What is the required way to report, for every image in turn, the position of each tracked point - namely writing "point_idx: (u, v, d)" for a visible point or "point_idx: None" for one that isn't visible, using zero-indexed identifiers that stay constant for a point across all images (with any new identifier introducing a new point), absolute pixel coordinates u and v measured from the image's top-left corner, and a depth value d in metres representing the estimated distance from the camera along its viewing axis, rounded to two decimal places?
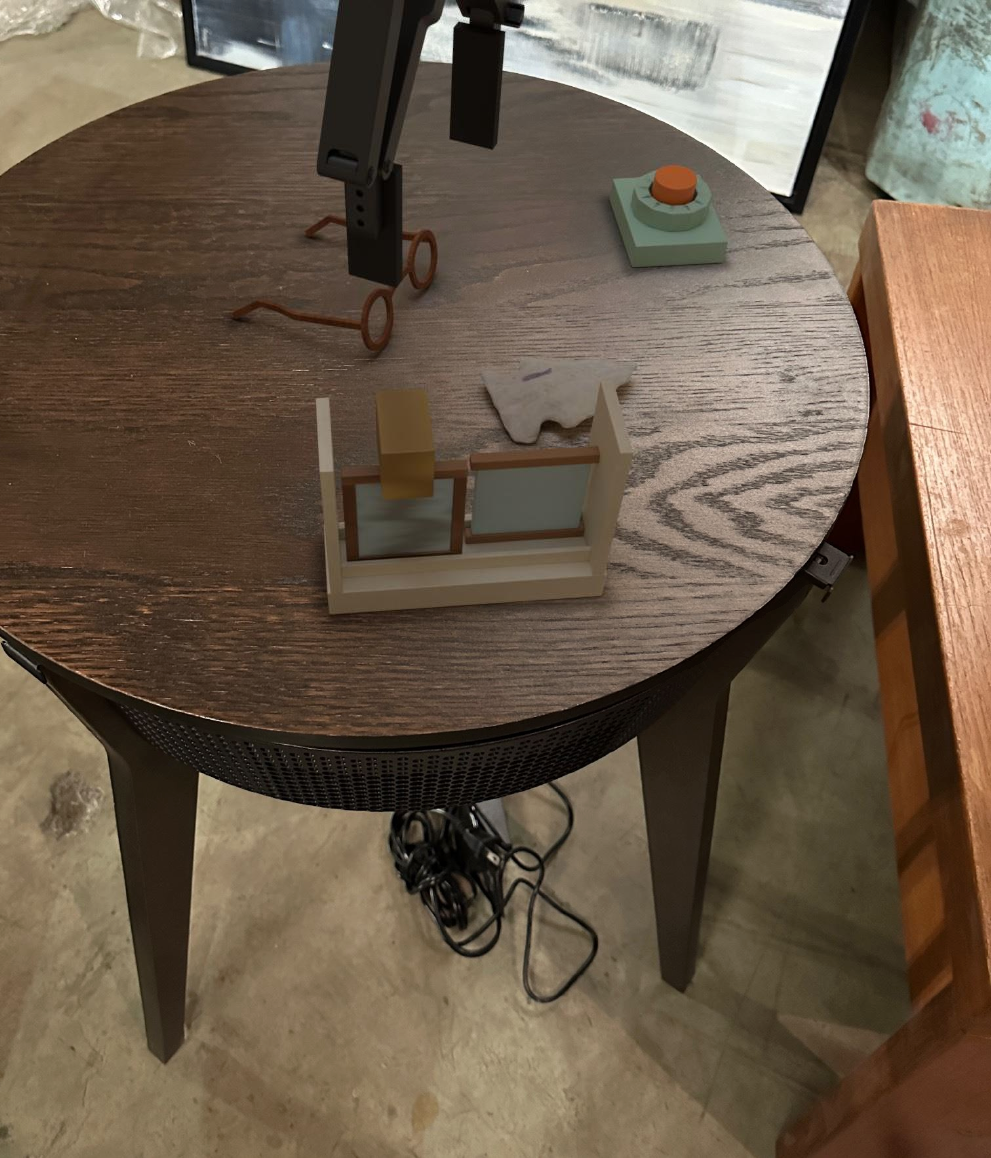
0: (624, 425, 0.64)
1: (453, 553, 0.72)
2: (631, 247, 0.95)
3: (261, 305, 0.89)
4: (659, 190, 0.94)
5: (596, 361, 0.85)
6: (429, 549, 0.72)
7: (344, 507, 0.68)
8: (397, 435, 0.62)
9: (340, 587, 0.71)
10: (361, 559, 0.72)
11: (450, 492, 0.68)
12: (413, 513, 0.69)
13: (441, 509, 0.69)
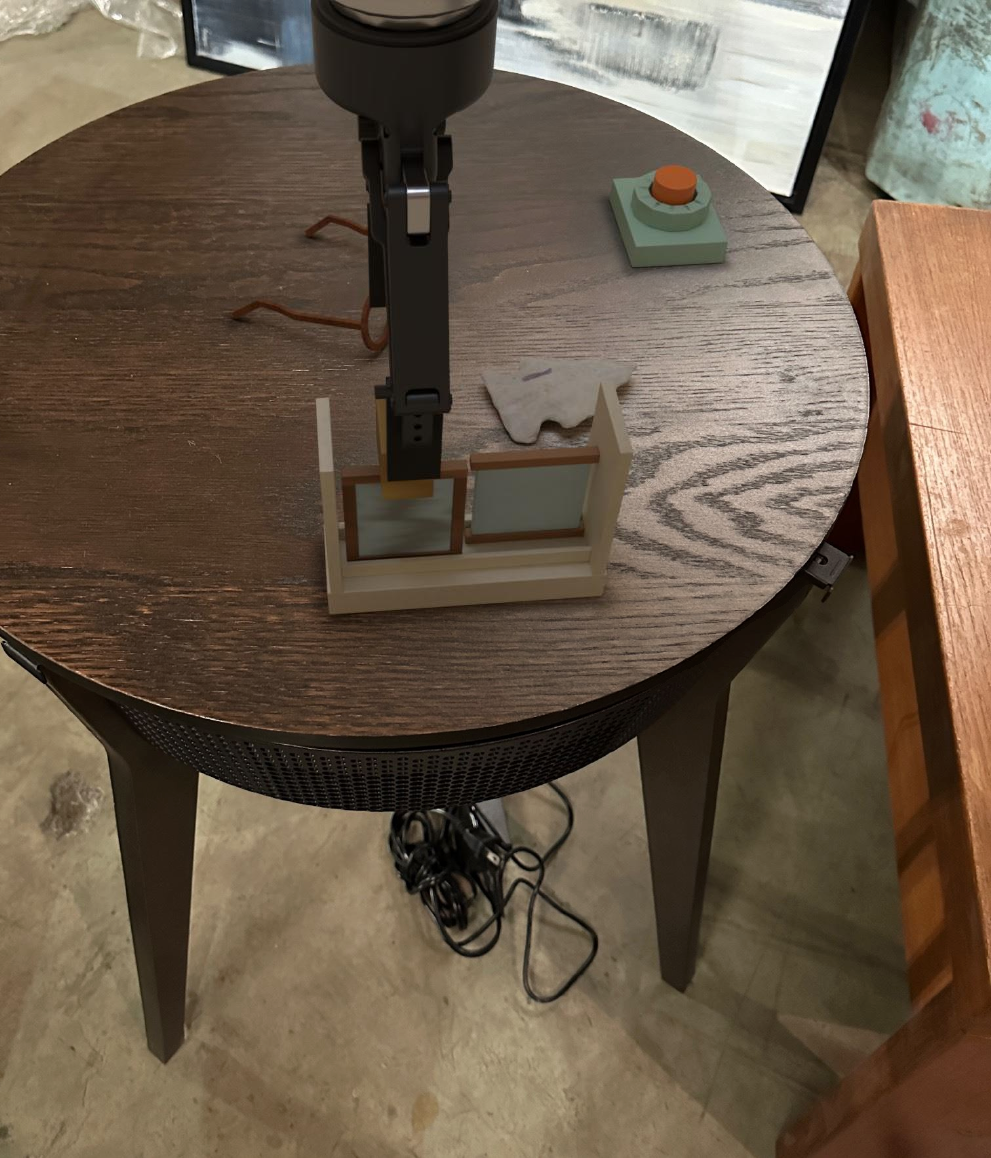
0: (624, 425, 0.64)
1: (453, 553, 0.72)
2: (631, 247, 0.95)
3: (261, 305, 0.89)
4: (659, 190, 0.94)
5: (596, 361, 0.85)
6: (429, 549, 0.72)
7: (344, 507, 0.68)
8: None
9: (340, 587, 0.71)
10: (361, 559, 0.72)
11: (450, 492, 0.68)
12: (413, 513, 0.69)
13: (441, 509, 0.69)
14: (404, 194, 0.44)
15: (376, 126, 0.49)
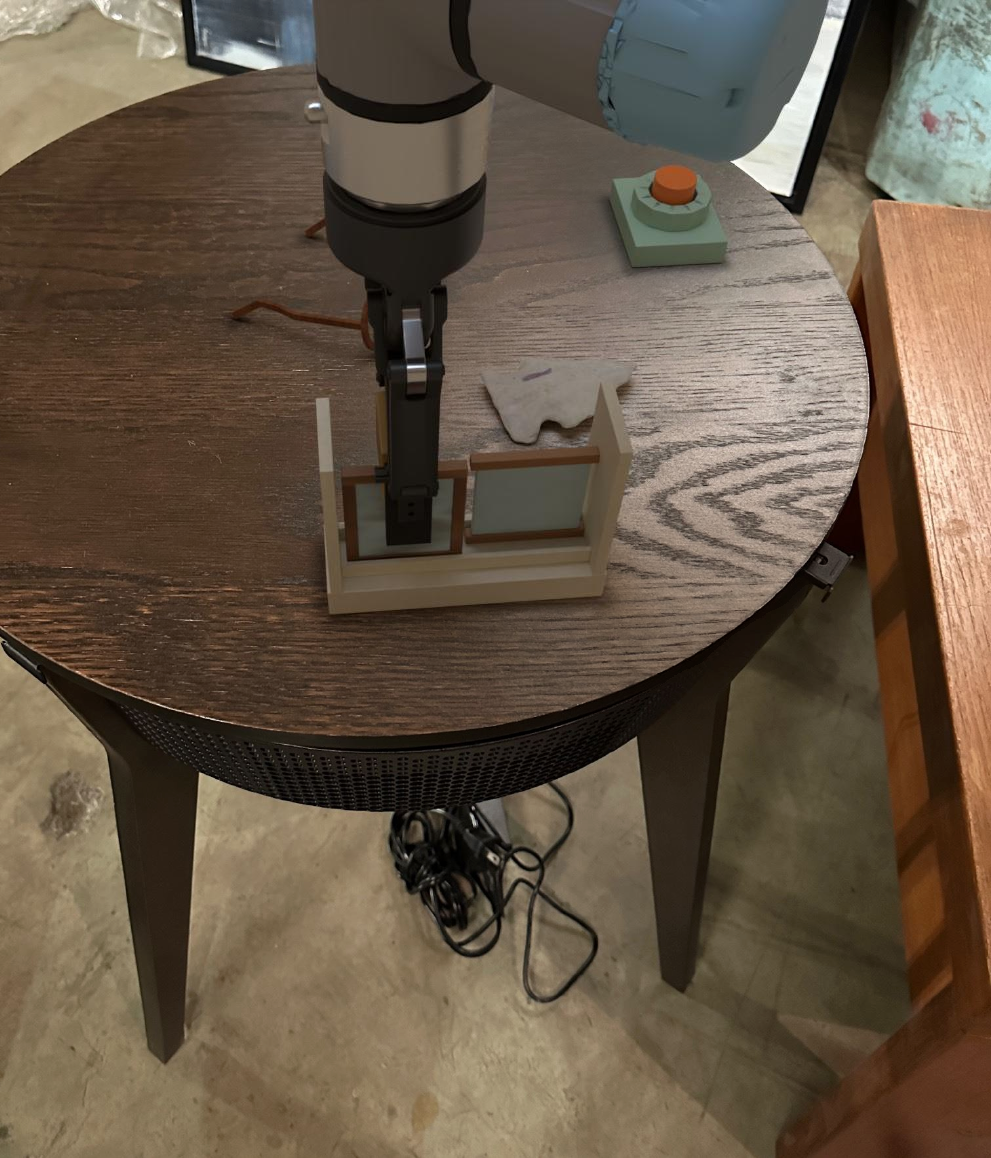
0: (624, 425, 0.64)
1: (453, 553, 0.72)
2: (631, 247, 0.95)
3: (261, 305, 0.89)
4: (659, 190, 0.94)
5: (596, 361, 0.85)
6: (429, 549, 0.72)
7: (344, 507, 0.68)
8: None
9: (340, 587, 0.71)
10: (361, 559, 0.72)
11: (450, 492, 0.68)
12: None
13: (441, 509, 0.69)
14: (405, 375, 0.51)
15: None
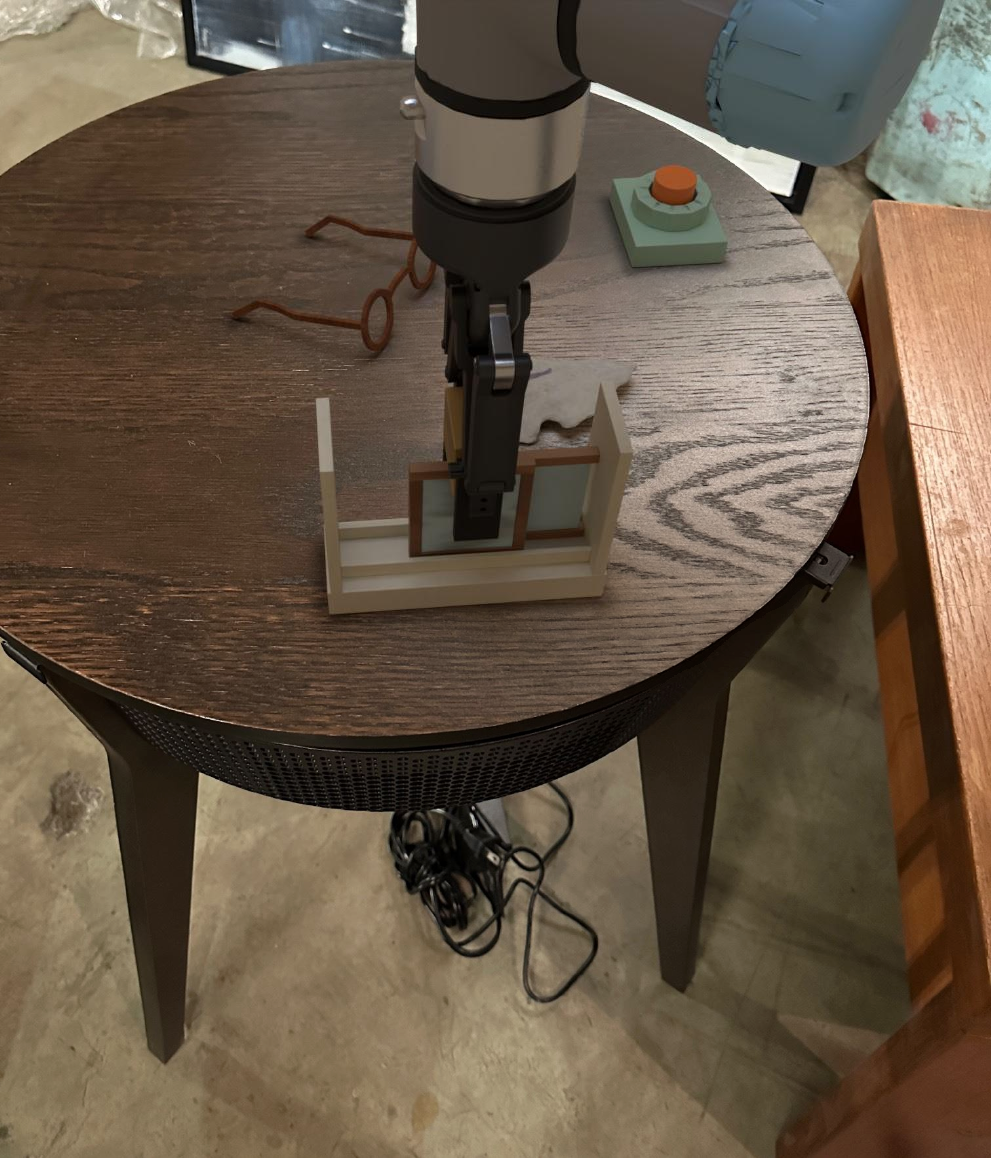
0: (624, 425, 0.64)
1: (515, 549, 0.72)
2: (631, 247, 0.95)
3: (261, 305, 0.89)
4: (659, 190, 0.94)
5: (596, 361, 0.85)
6: (491, 545, 0.72)
7: (410, 503, 0.68)
8: None
9: (340, 587, 0.71)
10: (423, 555, 0.72)
11: (516, 488, 0.68)
12: None
13: (506, 505, 0.69)
14: (493, 371, 0.51)
15: None
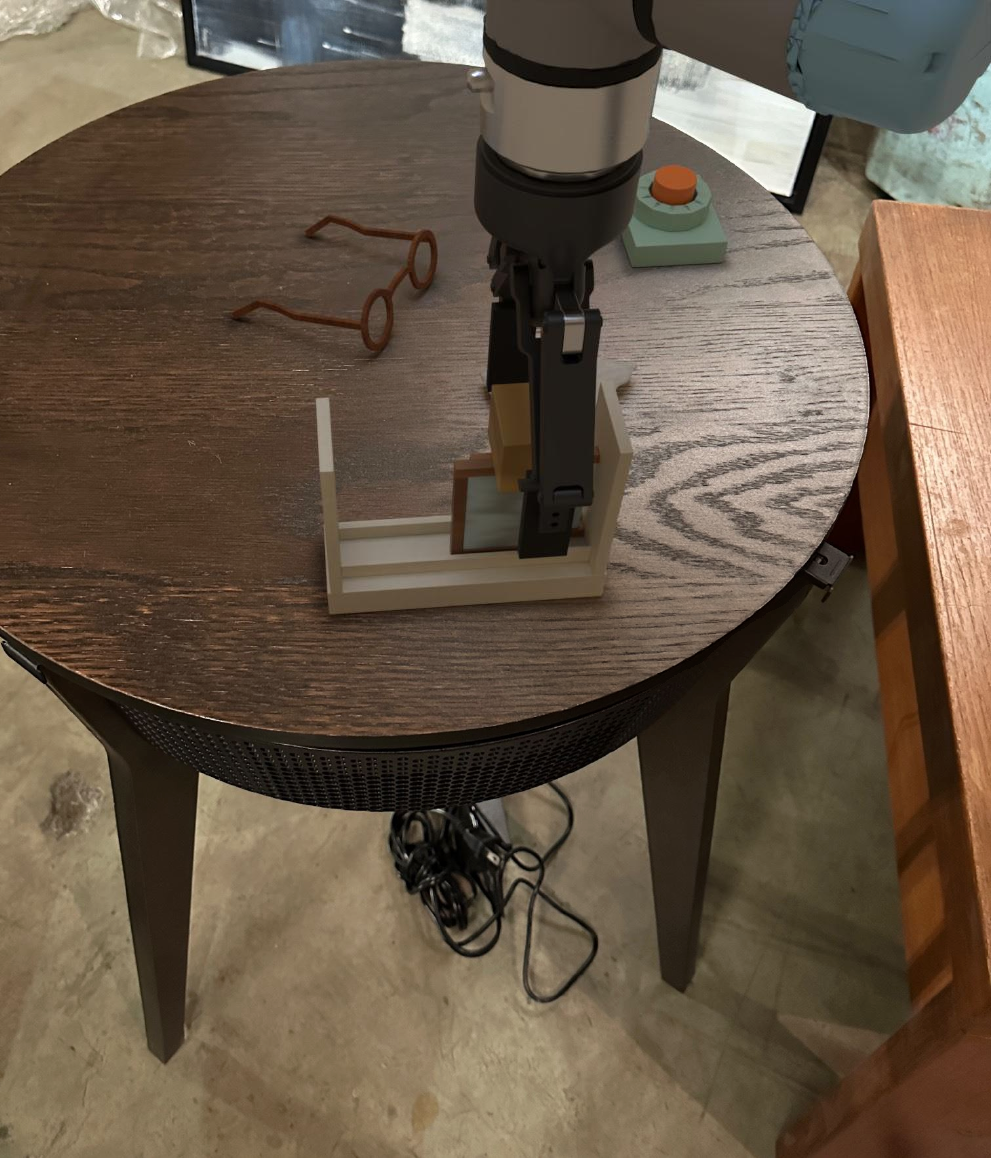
0: (624, 425, 0.64)
1: None
2: (631, 247, 0.95)
3: (261, 305, 0.89)
4: (659, 190, 0.94)
5: None
6: None
7: (454, 500, 0.68)
8: (517, 428, 0.62)
9: (340, 587, 0.71)
10: (465, 552, 0.72)
11: None
12: (521, 506, 0.69)
13: None
14: (562, 321, 0.49)
15: None
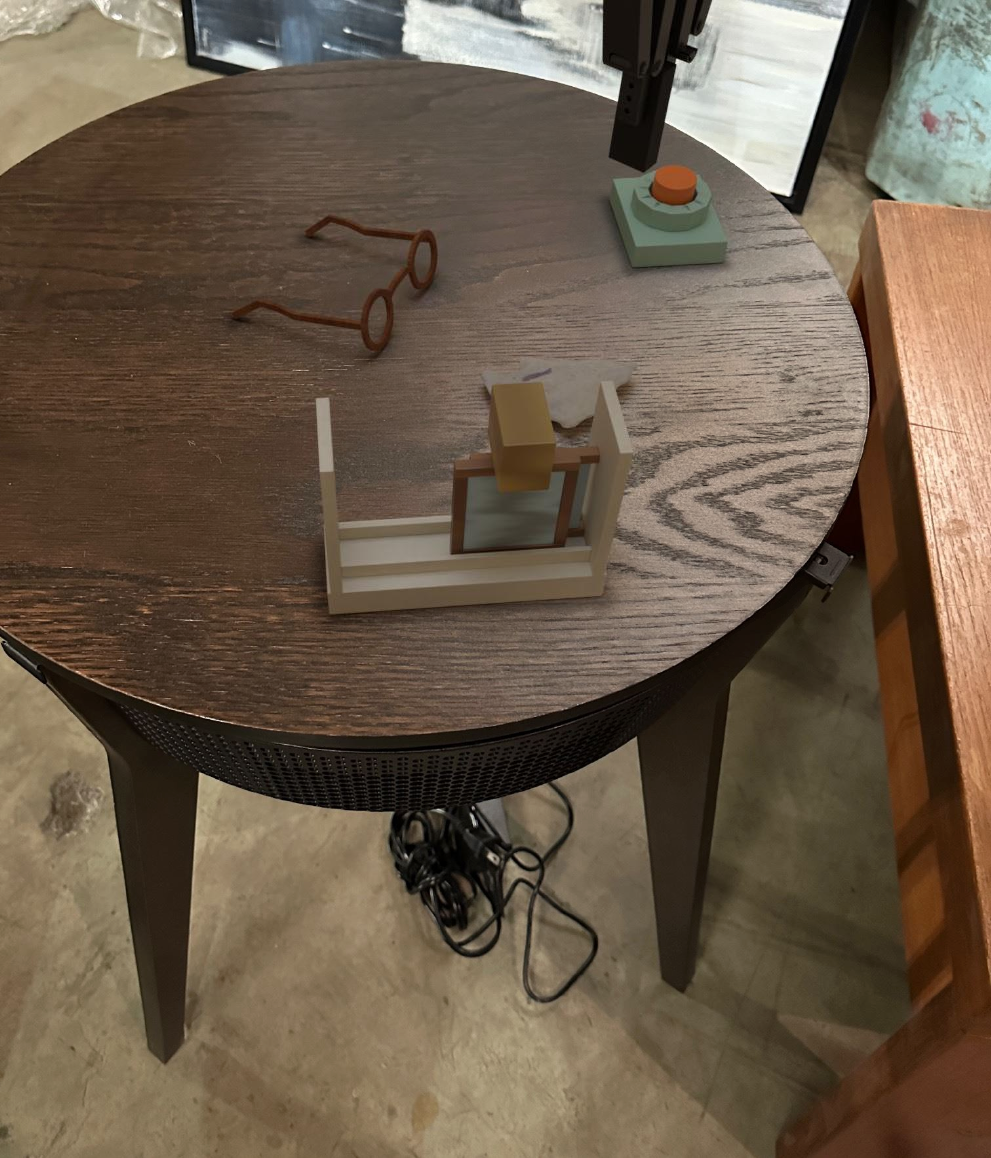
0: (624, 425, 0.64)
1: (556, 546, 0.73)
2: (631, 247, 0.95)
3: (261, 305, 0.89)
4: (659, 190, 0.94)
5: (596, 361, 0.85)
6: (533, 542, 0.72)
7: (454, 500, 0.68)
8: (517, 428, 0.62)
9: (340, 587, 0.71)
10: (465, 552, 0.72)
11: (560, 485, 0.68)
12: (521, 506, 0.69)
13: (549, 502, 0.69)
14: None
15: None
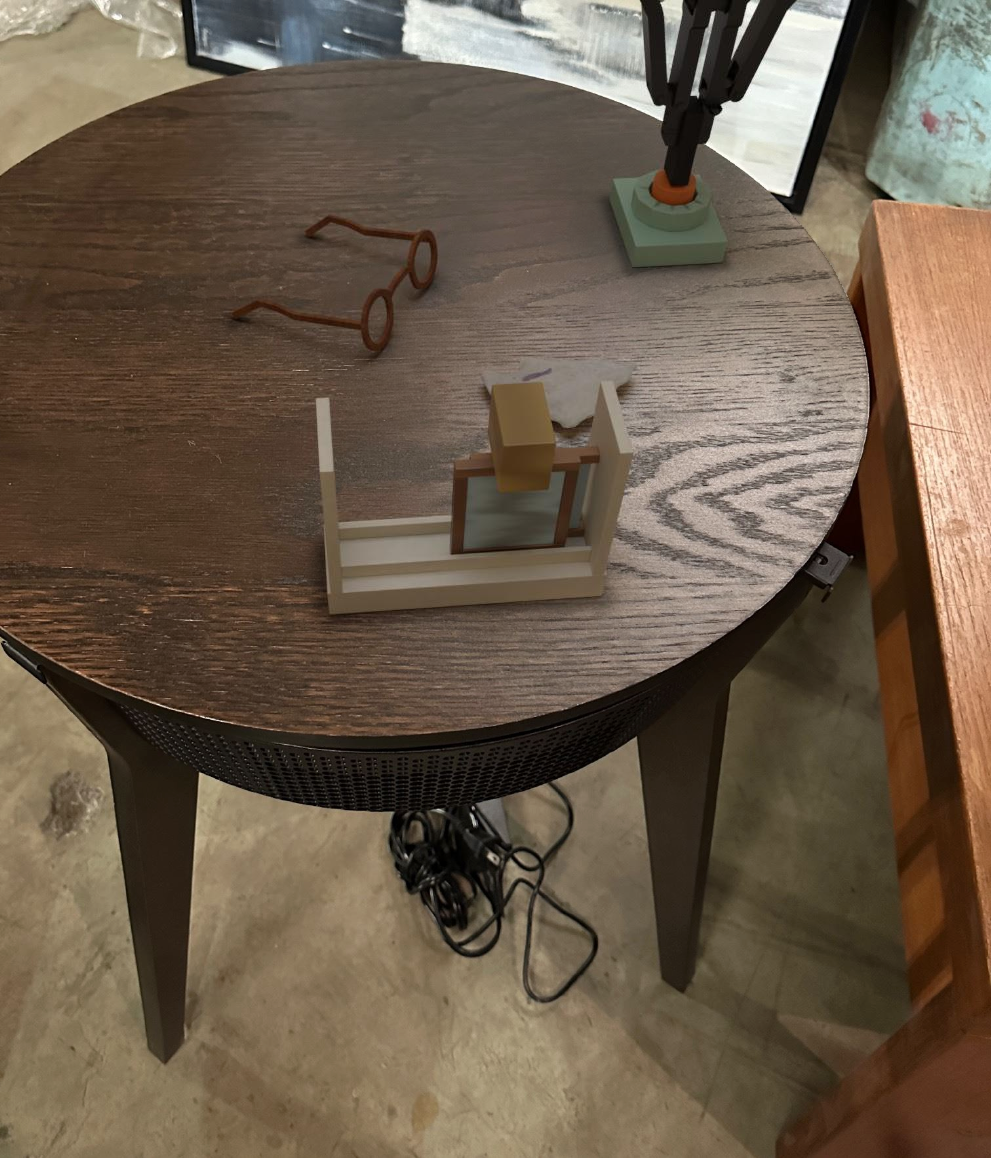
0: (624, 425, 0.64)
1: (556, 546, 0.73)
2: (631, 247, 0.95)
3: (261, 305, 0.89)
4: (658, 193, 0.94)
5: (596, 361, 0.85)
6: (533, 542, 0.72)
7: (454, 500, 0.68)
8: (517, 428, 0.62)
9: (340, 587, 0.71)
10: (465, 552, 0.72)
11: (560, 485, 0.68)
12: (521, 506, 0.69)
13: (549, 502, 0.69)
14: None
15: None
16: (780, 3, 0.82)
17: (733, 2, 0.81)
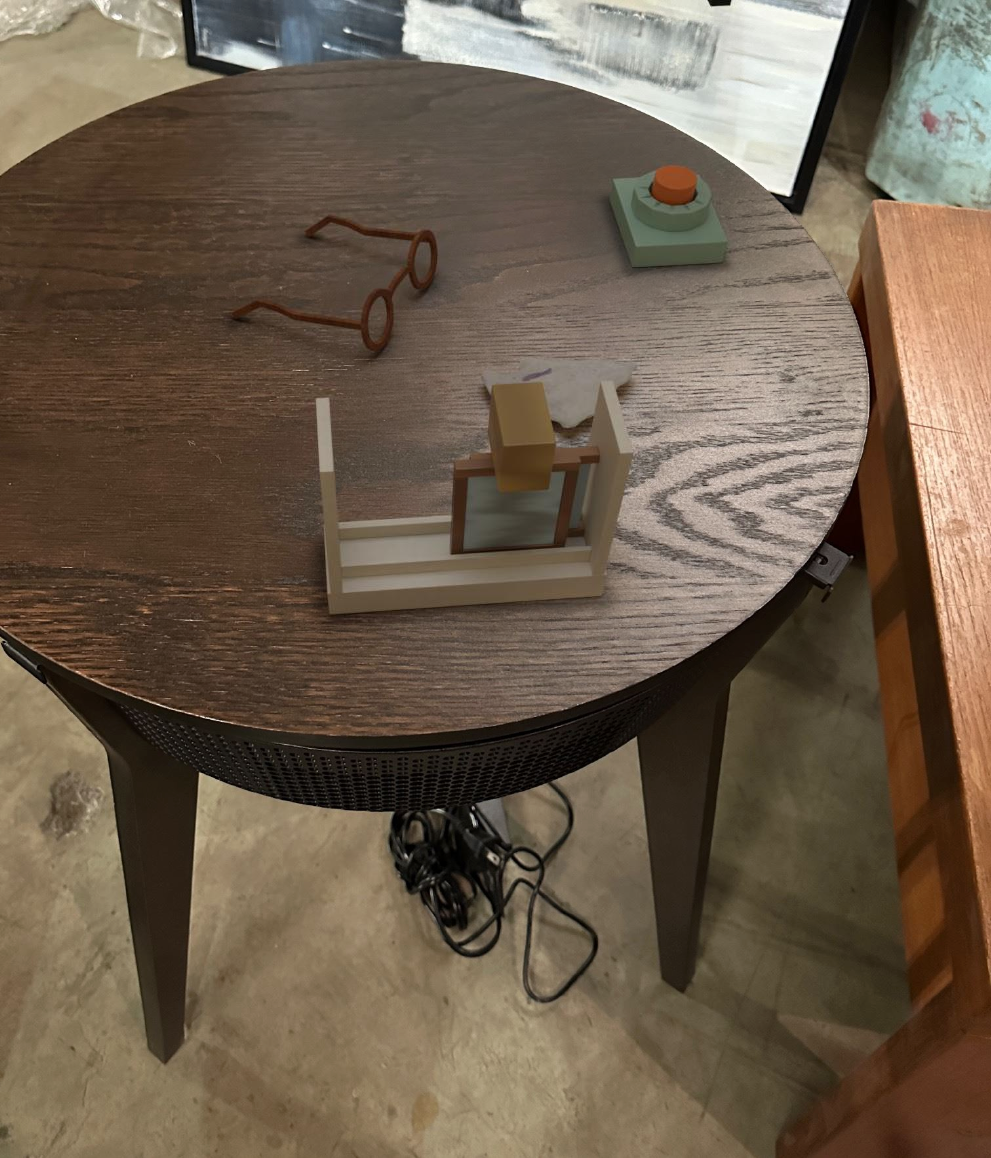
0: (624, 425, 0.64)
1: (556, 546, 0.73)
2: (631, 247, 0.95)
3: (261, 305, 0.89)
4: (659, 190, 0.94)
5: (596, 361, 0.85)
6: (533, 542, 0.72)
7: (454, 500, 0.68)
8: (517, 428, 0.62)
9: (340, 587, 0.71)
10: (465, 552, 0.72)
11: (560, 485, 0.68)
12: (521, 506, 0.69)
13: (549, 502, 0.69)
14: None
15: None
16: None
17: None
